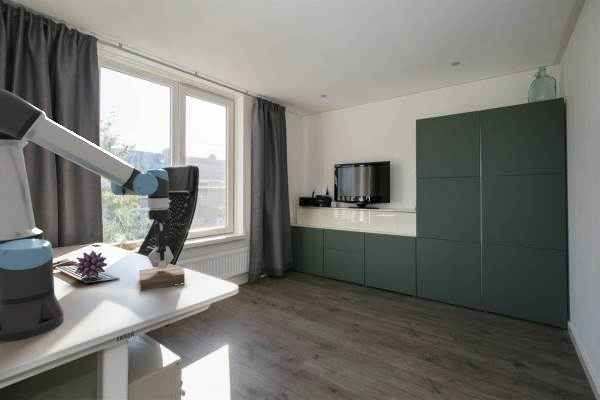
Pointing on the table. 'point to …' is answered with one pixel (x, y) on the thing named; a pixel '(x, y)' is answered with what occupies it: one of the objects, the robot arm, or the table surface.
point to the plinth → (161, 277)
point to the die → (154, 257)
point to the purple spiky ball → (90, 264)
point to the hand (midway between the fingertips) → (161, 265)
